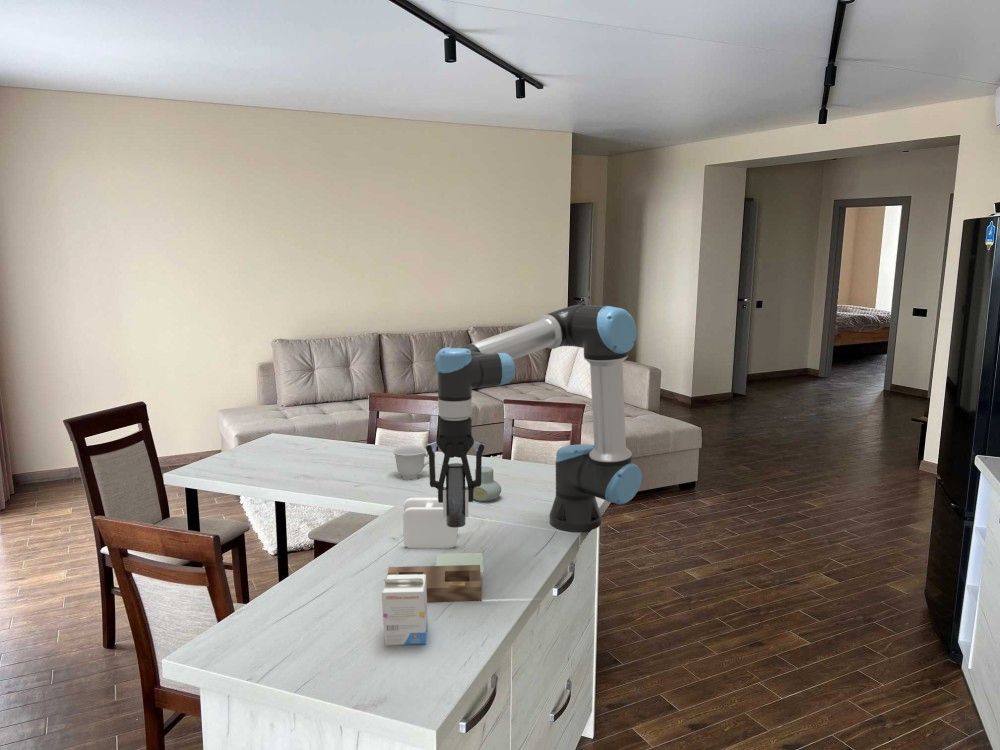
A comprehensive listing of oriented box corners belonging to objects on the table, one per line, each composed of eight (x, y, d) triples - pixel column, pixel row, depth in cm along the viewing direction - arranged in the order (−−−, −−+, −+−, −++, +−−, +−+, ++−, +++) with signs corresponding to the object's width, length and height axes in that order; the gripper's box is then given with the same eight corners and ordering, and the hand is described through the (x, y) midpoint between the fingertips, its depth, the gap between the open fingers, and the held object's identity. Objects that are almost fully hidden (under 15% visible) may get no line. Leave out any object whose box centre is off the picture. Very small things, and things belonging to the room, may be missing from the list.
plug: (465, 520, 173) (465, 463, 171) (465, 527, 169) (465, 468, 166) (446, 520, 173) (446, 463, 170) (446, 527, 168) (445, 468, 166)
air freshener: (463, 499, 237) (463, 469, 235) (476, 492, 244) (475, 463, 242) (493, 505, 232) (493, 474, 230) (505, 497, 239) (505, 467, 237)
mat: (482, 555, 193) (482, 552, 193) (483, 574, 182) (483, 572, 181) (436, 556, 193) (436, 553, 193) (435, 575, 181) (435, 573, 181)
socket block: (480, 578, 180) (479, 564, 179) (481, 601, 168) (481, 586, 167) (389, 580, 178) (389, 566, 178) (384, 603, 167) (383, 588, 166)
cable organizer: (400, 551, 196) (399, 509, 194) (405, 535, 207) (404, 496, 205) (456, 550, 196) (456, 509, 194) (458, 535, 207) (458, 496, 205)
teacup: (433, 482, 254) (433, 454, 252) (390, 482, 254) (390, 454, 253) (437, 472, 266) (436, 445, 264) (396, 472, 266) (395, 445, 265)
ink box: (428, 624, 157) (427, 565, 155) (425, 645, 149) (424, 583, 147) (388, 625, 157) (386, 566, 155) (383, 646, 149) (381, 584, 147)
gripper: (492, 412, 171) (492, 509, 174) (417, 413, 170) (419, 510, 174) (494, 420, 163) (494, 520, 167) (415, 420, 162) (417, 521, 166)
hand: (455, 515), depth 170 cm, fingers closed on plug, 4 cm apart
